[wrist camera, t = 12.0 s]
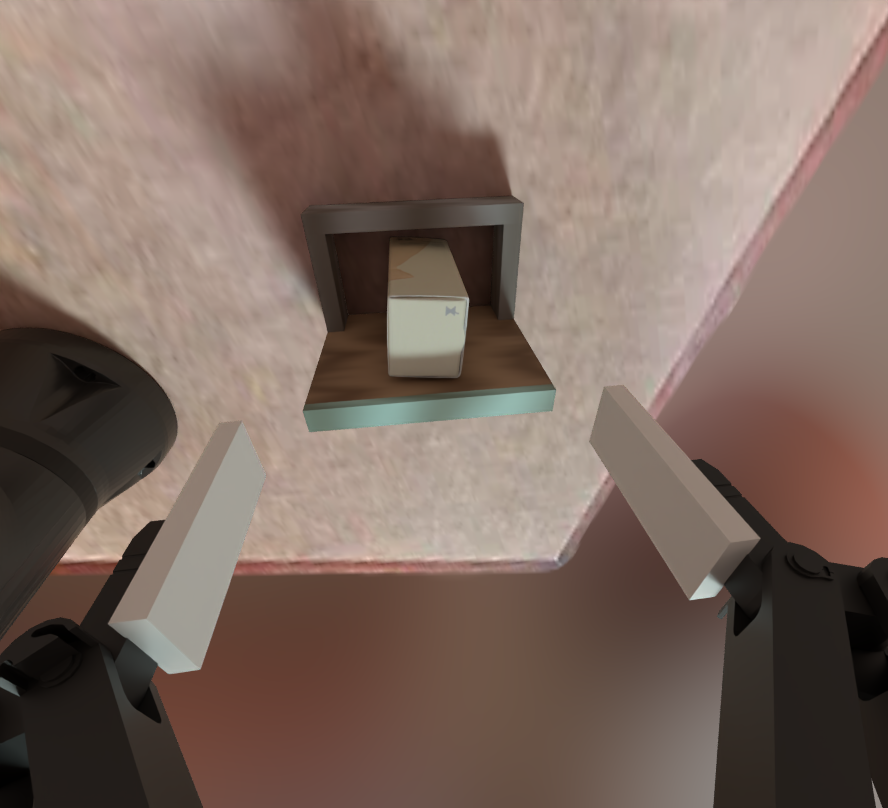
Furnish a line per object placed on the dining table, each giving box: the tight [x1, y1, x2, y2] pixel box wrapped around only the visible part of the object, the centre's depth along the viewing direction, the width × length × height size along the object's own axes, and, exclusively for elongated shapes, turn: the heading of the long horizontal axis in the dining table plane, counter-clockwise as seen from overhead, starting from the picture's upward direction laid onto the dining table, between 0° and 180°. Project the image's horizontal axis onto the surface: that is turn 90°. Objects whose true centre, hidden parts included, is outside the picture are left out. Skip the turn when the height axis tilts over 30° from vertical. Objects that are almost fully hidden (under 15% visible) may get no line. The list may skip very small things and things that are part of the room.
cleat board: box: [301, 196, 556, 432], centre depth 24 cm, size 14×9×13 cm
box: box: [387, 237, 469, 378], centre depth 25 cm, size 5×4×11 cm
